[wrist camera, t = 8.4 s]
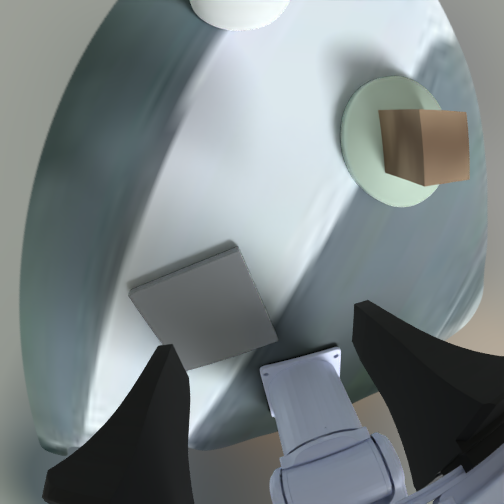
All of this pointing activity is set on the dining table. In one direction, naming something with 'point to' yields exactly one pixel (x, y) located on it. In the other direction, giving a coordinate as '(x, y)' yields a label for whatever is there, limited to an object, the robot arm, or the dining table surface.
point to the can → (239, 13)
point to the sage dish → (370, 140)
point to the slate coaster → (206, 310)
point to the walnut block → (425, 145)
